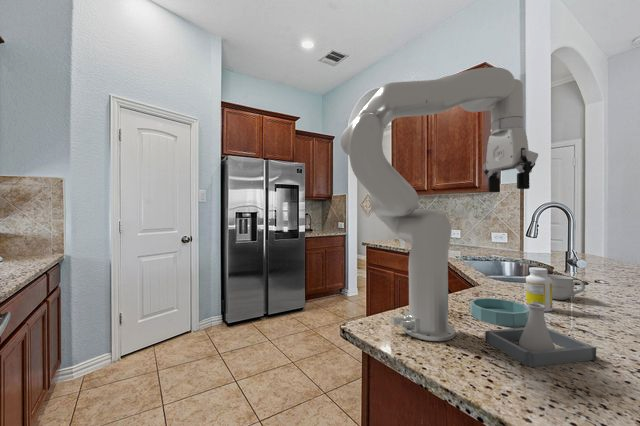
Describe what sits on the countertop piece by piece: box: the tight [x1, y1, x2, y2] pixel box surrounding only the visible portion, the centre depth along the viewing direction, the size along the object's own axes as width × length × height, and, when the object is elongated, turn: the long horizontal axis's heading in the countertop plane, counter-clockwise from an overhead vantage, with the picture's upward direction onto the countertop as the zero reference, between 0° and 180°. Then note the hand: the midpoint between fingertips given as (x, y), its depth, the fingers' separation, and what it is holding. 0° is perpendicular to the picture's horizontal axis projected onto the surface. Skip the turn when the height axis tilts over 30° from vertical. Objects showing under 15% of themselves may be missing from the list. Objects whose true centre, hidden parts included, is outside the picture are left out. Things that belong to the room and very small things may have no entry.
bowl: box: [469, 297, 529, 328], centre depth 86 cm, size 15×15×4 cm
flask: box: [517, 303, 556, 352], centre depth 65 cm, size 7×7×10 cm
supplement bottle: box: [525, 266, 553, 313], centre depth 94 cm, size 7×7×13 cm
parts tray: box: [484, 327, 597, 368], centre depth 65 cm, size 16×12×2 cm
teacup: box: [547, 273, 586, 301], centre depth 104 cm, size 14×11×8 cm
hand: (507, 190), depth 80 cm, fingers open, 9 cm apart
